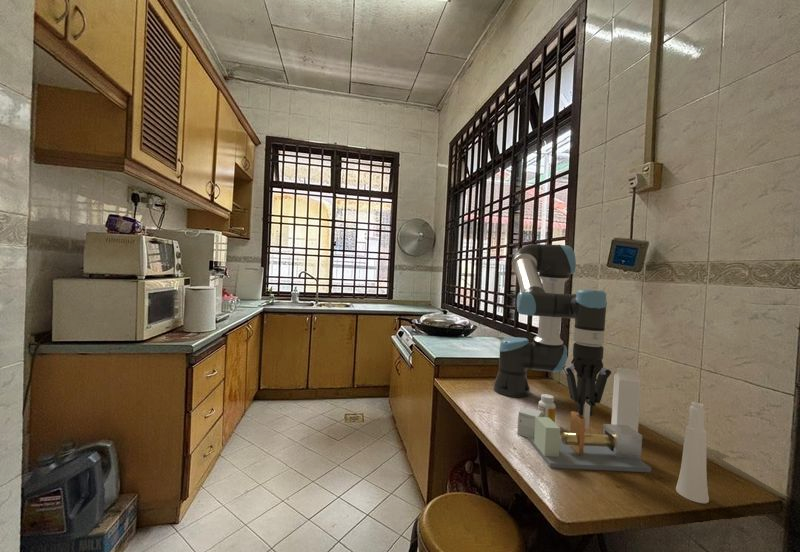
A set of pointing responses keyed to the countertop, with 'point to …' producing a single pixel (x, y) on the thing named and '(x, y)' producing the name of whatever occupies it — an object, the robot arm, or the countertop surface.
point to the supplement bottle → (547, 406)
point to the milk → (626, 398)
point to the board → (590, 459)
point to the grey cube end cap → (624, 442)
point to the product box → (527, 421)
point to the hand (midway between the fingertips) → (583, 426)
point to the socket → (547, 436)
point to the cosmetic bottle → (694, 458)
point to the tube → (584, 436)
